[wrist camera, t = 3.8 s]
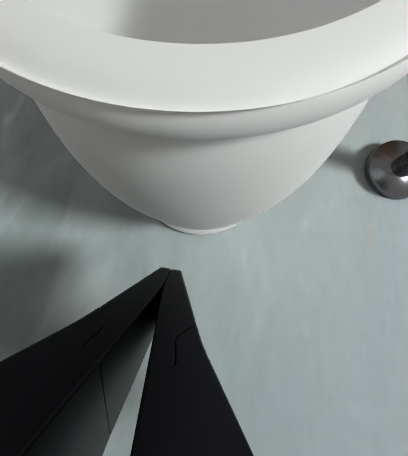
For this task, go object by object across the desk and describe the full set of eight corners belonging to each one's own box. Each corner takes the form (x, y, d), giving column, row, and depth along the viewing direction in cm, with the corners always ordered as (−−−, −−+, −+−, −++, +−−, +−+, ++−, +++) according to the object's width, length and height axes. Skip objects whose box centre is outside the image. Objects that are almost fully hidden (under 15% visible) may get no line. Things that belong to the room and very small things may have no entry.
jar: (133, 262, 18) (-190, 165, 3) (118, 121, 20) (-121, -347, 5) (292, 238, 18) (673, 48, 3) (262, 102, 20) (423, -382, 6)
